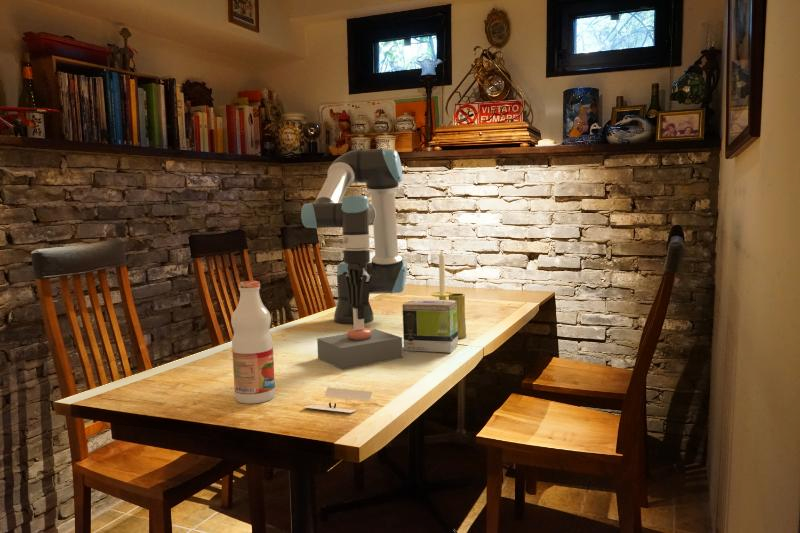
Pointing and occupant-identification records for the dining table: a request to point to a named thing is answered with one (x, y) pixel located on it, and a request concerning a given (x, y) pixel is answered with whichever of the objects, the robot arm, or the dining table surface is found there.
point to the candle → (442, 279)
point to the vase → (460, 313)
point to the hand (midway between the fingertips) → (359, 329)
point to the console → (359, 349)
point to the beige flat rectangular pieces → (343, 394)
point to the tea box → (430, 325)
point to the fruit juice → (252, 347)
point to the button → (359, 334)
